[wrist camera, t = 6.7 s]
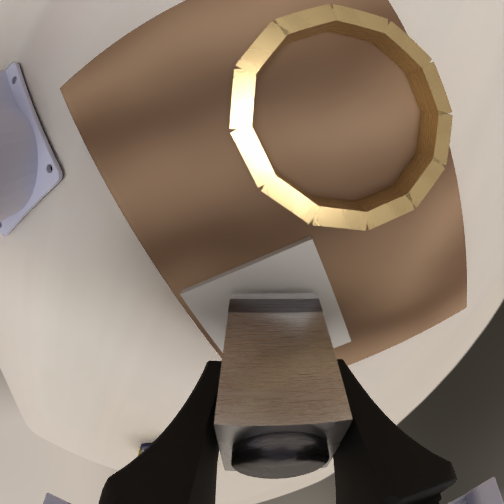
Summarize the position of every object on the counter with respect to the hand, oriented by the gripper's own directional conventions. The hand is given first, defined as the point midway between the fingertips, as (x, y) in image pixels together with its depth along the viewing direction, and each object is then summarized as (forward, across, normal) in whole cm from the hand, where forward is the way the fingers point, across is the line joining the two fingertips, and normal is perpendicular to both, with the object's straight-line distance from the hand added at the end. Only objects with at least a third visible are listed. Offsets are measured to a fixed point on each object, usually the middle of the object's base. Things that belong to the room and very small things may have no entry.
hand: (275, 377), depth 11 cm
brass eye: (+4, -3, -10) cm, 11 cm away
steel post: (+3, 0, 0) cm, 3 cm away
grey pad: (+4, 0, 0) cm, 4 cm away
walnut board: (+6, -2, -6) cm, 9 cm away
